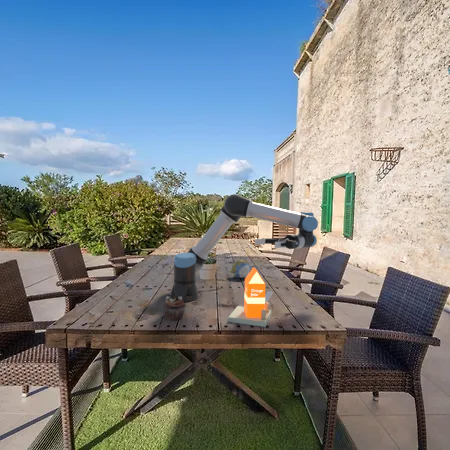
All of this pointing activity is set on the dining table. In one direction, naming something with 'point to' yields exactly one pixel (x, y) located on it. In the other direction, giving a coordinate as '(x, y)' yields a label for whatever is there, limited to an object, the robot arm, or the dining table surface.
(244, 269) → the globe
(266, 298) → the wrench
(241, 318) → the plinth
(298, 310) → the dining table surface
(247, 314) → the orange juice
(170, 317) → the cupcake
